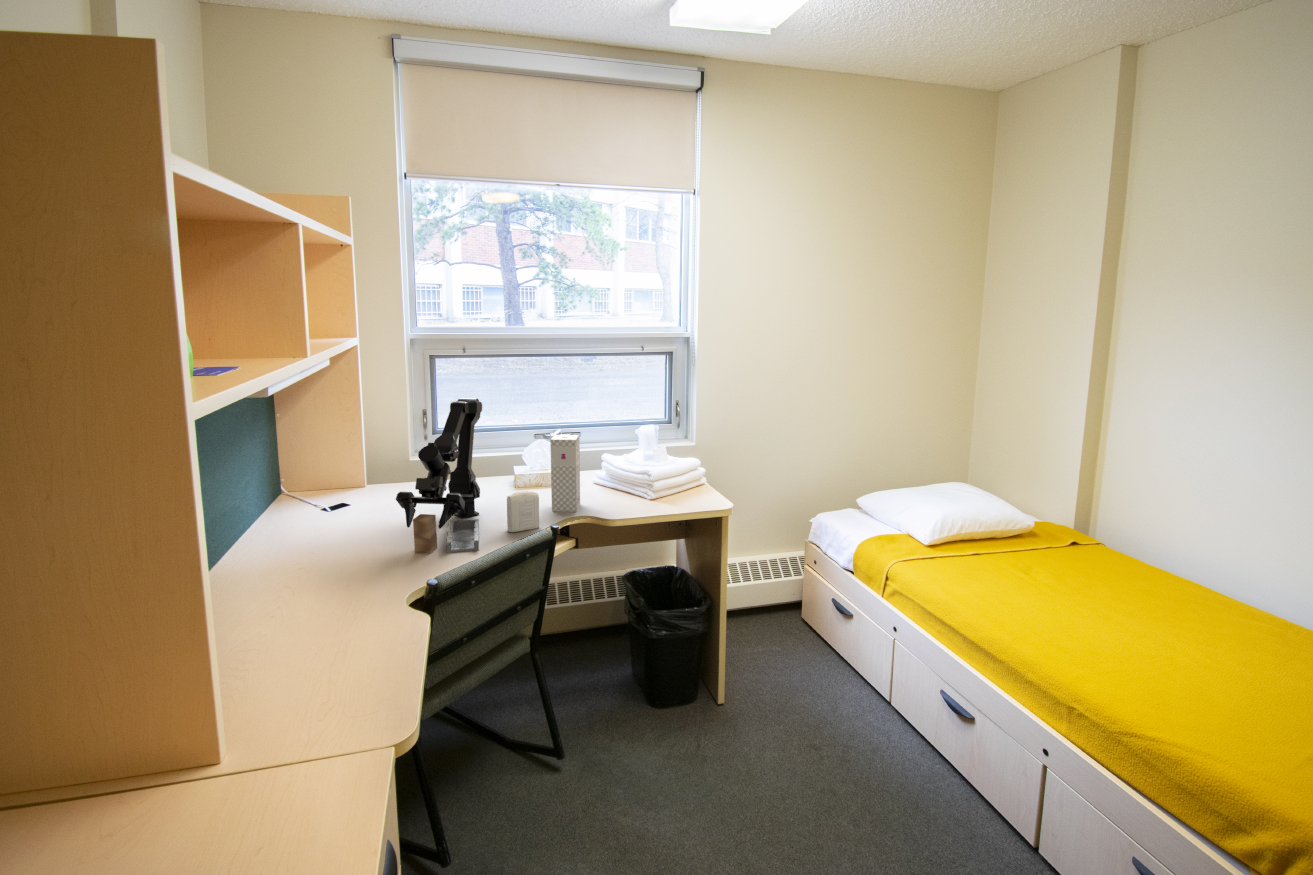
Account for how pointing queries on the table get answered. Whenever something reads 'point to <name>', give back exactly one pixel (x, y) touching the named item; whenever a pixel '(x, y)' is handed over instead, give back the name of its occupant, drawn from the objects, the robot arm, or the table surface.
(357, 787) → the table surface
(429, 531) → the wooden tall block
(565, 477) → the box
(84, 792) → the table surface
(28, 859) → the table surface
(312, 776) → the table surface
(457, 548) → the gray rectangular tray
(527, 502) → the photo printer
